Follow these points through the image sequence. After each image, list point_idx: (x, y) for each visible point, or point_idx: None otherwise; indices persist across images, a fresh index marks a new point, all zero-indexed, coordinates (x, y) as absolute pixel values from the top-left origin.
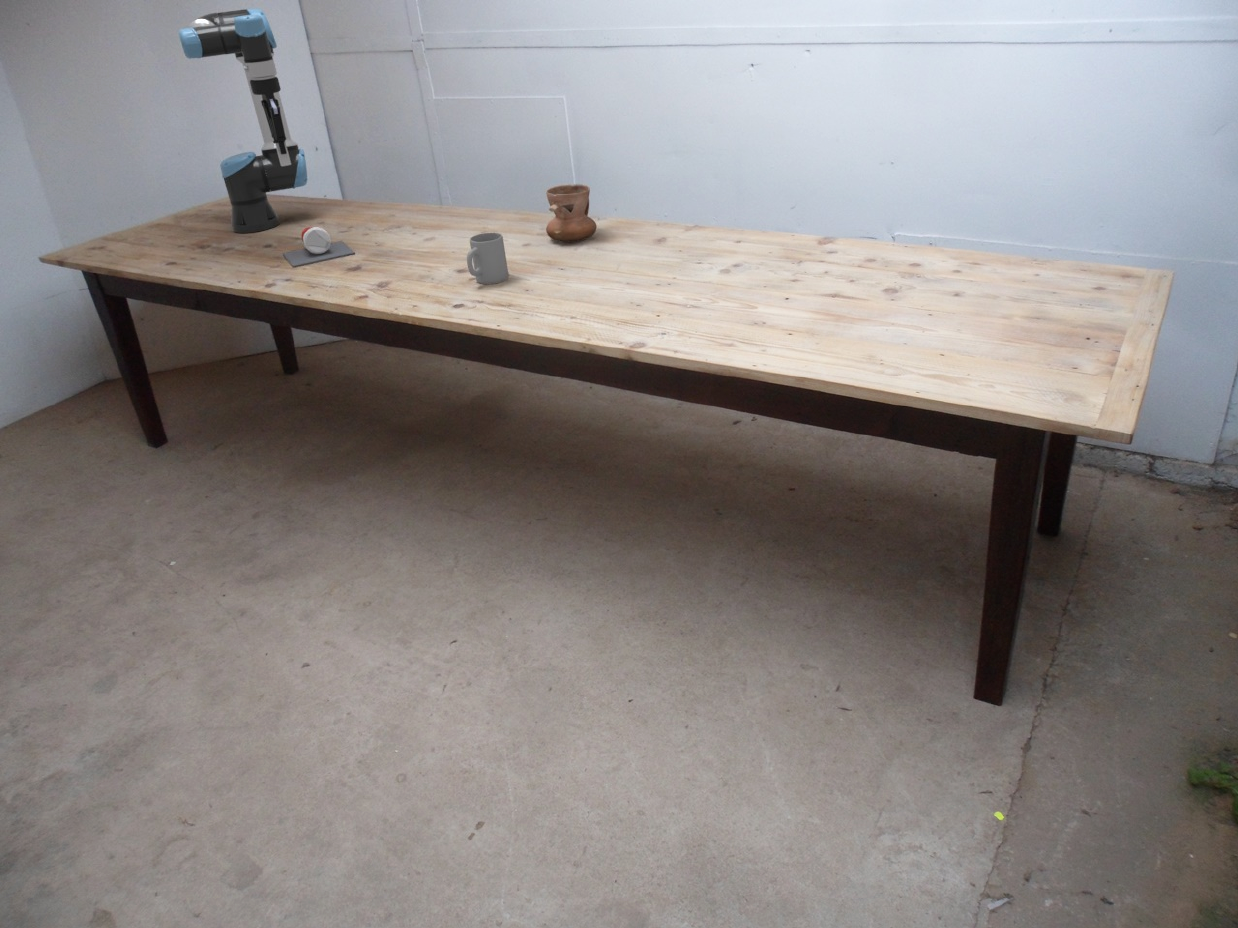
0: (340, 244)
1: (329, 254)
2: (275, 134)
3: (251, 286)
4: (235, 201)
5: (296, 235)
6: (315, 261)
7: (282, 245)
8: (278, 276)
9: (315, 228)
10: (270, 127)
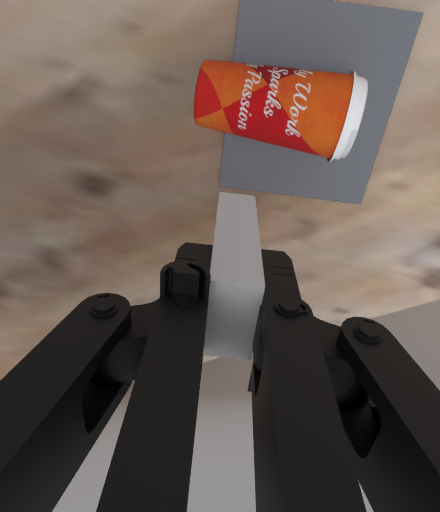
0: (282, 13)
1: None
2: (351, 448)
3: (397, 304)
4: None
5: (26, 83)
6: (379, 146)
7: (114, 154)
8: (389, 248)
9: (349, 120)
10: (77, 467)
